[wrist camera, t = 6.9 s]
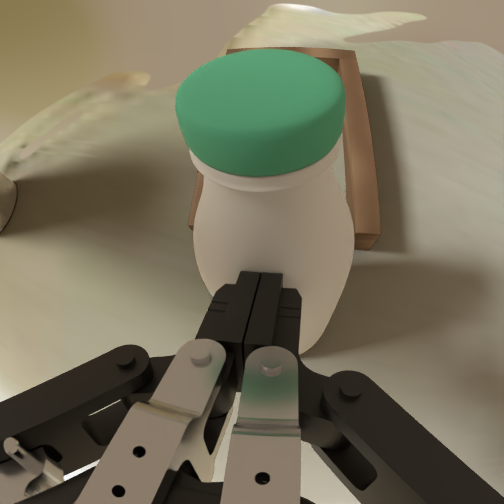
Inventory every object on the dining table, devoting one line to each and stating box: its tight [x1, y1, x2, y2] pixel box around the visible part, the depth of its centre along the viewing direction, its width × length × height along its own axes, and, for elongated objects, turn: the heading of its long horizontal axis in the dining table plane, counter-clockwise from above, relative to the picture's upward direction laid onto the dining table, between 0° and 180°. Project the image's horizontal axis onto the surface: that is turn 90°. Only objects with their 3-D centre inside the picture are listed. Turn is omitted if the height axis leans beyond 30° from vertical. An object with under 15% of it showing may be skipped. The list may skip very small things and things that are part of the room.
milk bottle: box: [176, 49, 354, 354], centre depth 16 cm, size 8×8×20 cm
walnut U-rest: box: [188, 47, 381, 250], centre depth 28 cm, size 15×23×4 cm, turn 175°
